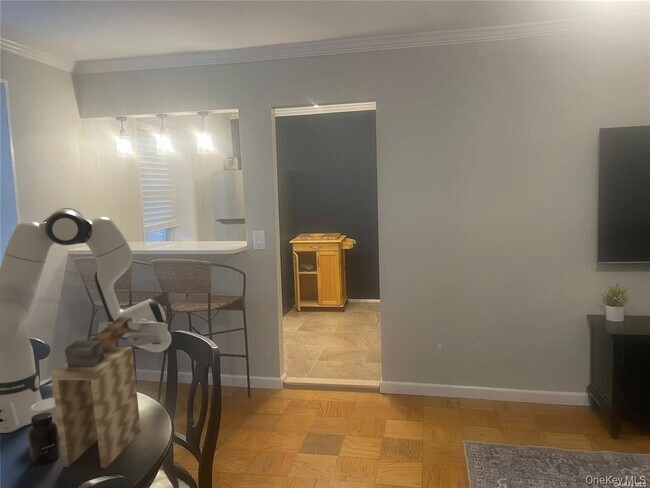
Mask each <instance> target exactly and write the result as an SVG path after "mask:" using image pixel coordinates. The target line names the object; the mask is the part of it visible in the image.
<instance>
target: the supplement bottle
mask: <svg viewBox="0 0 650 488" xmlns="http://www.w3.org/2000/svg"><path fill="white" fill-rule="evenodd" d="M30 424H31V427H30V428H29V429H28V434H27V435H28V443H29V452H30V453H29V454H30V460H31V462H32V463H33V464H35V465H44V464H48V463H51V462H53V461H55V460H56V459H57V458H58V457H59V456H60V455H61V444H60V437H59V436H58V427H57V424H56V423H55V422H53V419H52V414H51V413H49V412H44V413H40V414H37V415H35V416H33V417H32V418H31V423H30Z"/></svg>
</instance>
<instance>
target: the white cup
mask: <svg viewBox="0 0 650 488" xmlns="http://www.w3.org/2000/svg"><path fill="white" fill-rule="evenodd" d="M31 410H32V415H33V416H35V415H37V414H40V413H44V412H49V413H51V414H52V419H53V422H55V423H56V424H57V427H58V421H57V414H56V406H55V399H54V397H49V398H45V399H42V400H41V401H39V402H37V403H35V404H33V405H32V407H31ZM58 436H59V429H58Z"/></svg>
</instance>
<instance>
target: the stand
mask: <svg viewBox="0 0 650 488" xmlns="http://www.w3.org/2000/svg"><path fill="white" fill-rule="evenodd" d="M103 355H104V358H103V359H102V360H101V361H100V362H99V363H98V364H97V365H95V366H94V367H68V364H67V362H66V363H64V364H63V365H60V366H59V367H58V368H56V369H54V370H52V371H51V372H50V373H51V381H52V382H51V383H52V388H53V389H52V390H53V398H54V399H55V406H56V414H57V421H58V429H59V445H60V453H61V458H62V466H63V467H64V468H66V467H67V468H70V466H72V465H73V463H75V462H76V461H77V460H78V459H79V458H80V457H81V456H82V455H83V454H84V453H85V452H86V451H87V450H88V449H89V448H90V447H91V446H92V445H94V444H95V443H96V442H97V443H98V444H97V445H98V455H99V461H100V462H99V463H100V468H101V469H107V468H109V466H110V465H111V464H112V463H113V462H114V461H115V460H116V458H117V457H118V456H119V455H120V454H121V453H122V452H123V451H124V450H125V449H126V448H127V446H128V445H129V444H130V443H131V442H132V441H133V440H134V439H135V438H136V436H137V435H139V434H140V432H142V431H141V430H142V428H141V421H140V419H141V418H140V412H139V401H138V393H137V392H138V391H137V382H136V380H137V379H136V373H135V361H134V355H133V346H111V347H110V348H108V349H107V350H106V351H105V352H104V353H103Z"/></svg>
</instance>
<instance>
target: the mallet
mask: <svg viewBox="0 0 650 488" xmlns="http://www.w3.org/2000/svg"><path fill="white" fill-rule="evenodd" d="M126 322H132V318H131V317H119V318H118V319H117V320H115V321H114V322H113V323H112V324H110V325H109V326H108V327H107V328H105V329H104V330H103V331H102V332H100V333H98V334H96V335H95V336H94V337H93V338H91V339H90V340H75V341H74V342H72V343H71V344H70V345H68V346H67V347H66V348H65V349H64V353H65V354H64V355H65V358H66V359H65V360H66V363H67V364H68V367H94V366H95V365H97V364H98V363H99V362H100V361H101V360H102V359H103V358H104V355H103V353H104V352H105V351H106V350H107V349H108V348H110V347H113V345H115V343H117V342H118V341H119V340H121V339H120V338H121V337H122V336H123V335H124V334H126V333H127V332H128V331H129V330H130V329H129V328H126V327H125V325H126Z"/></svg>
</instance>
